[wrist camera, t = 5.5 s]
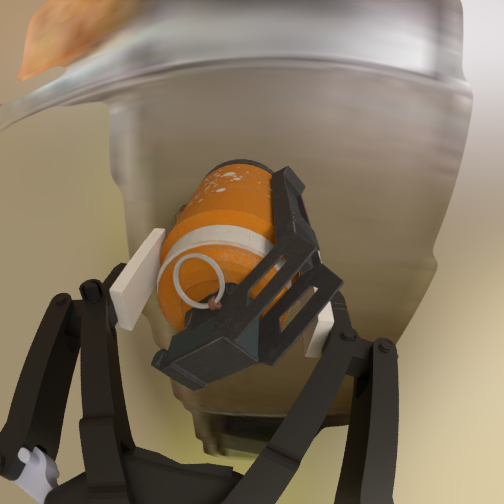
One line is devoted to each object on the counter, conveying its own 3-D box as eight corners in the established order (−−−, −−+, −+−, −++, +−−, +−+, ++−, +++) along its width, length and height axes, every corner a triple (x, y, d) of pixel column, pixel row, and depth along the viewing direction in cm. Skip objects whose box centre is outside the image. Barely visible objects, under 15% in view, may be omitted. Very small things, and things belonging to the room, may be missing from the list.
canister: (182, 196, 28) (86, 349, 11) (263, 125, 24) (258, 211, 7) (239, 252, 32) (214, 424, 15) (320, 194, 28) (387, 360, 11)
